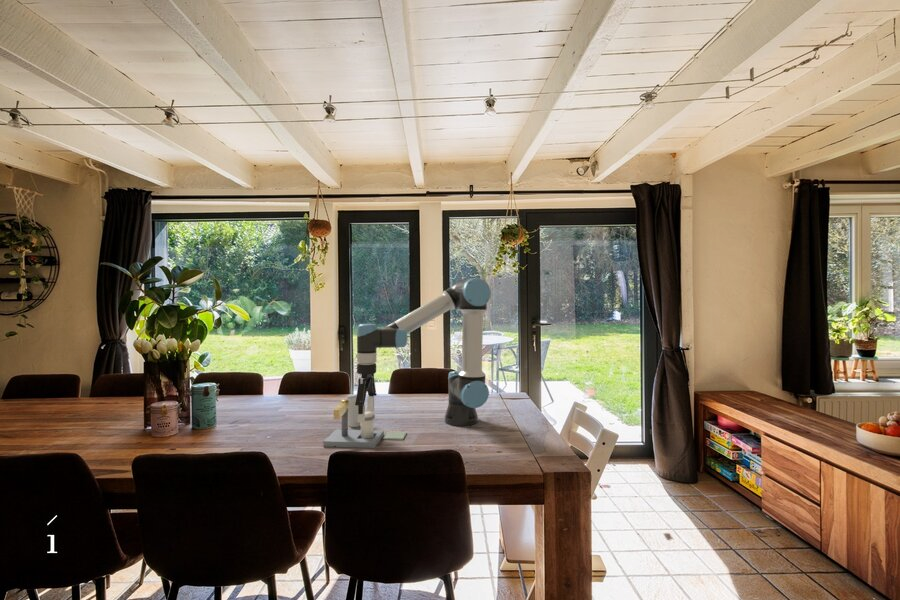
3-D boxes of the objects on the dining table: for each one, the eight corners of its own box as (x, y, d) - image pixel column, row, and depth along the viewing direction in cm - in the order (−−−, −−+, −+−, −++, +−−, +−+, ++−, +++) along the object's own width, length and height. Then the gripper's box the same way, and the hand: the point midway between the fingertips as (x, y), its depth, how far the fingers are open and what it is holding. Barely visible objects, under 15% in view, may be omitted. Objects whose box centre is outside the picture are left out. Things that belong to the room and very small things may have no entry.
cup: (359, 427, 177) (359, 400, 177) (342, 426, 179) (342, 399, 178) (367, 422, 185) (367, 396, 185) (350, 421, 186) (350, 395, 186)
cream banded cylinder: (376, 438, 164) (376, 411, 164) (372, 443, 158) (372, 415, 158) (361, 438, 164) (361, 410, 164) (357, 443, 158) (357, 415, 158)
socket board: (383, 435, 168) (383, 406, 167) (375, 447, 154) (374, 416, 153) (336, 434, 169) (336, 405, 169) (323, 446, 155) (323, 415, 155)
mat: (406, 433, 170) (406, 431, 170) (403, 439, 162) (403, 438, 162) (387, 432, 170) (387, 431, 170) (383, 439, 162) (383, 438, 162)
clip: (340, 419, 149) (340, 408, 149) (332, 419, 149) (331, 408, 149) (349, 409, 163) (349, 399, 163) (341, 409, 163) (341, 399, 163)
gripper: (366, 358, 173) (365, 408, 173) (347, 368, 148) (346, 426, 149) (383, 358, 173) (382, 408, 173) (367, 368, 148) (366, 427, 148)
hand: (366, 417), depth 161 cm, fingers open, 13 cm apart
